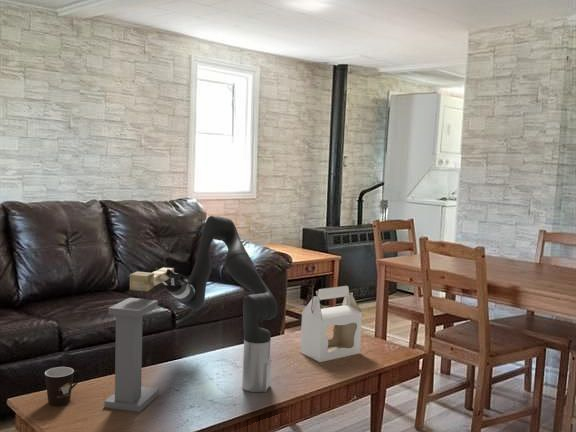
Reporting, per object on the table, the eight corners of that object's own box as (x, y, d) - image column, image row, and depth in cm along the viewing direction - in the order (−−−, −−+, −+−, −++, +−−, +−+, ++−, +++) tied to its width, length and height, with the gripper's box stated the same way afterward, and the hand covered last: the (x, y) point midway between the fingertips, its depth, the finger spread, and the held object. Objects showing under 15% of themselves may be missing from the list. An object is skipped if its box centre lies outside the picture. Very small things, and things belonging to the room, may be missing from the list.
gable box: (339, 344, 256) (343, 281, 253) (360, 353, 245) (364, 288, 242) (299, 352, 243) (302, 286, 240) (319, 362, 232) (322, 293, 229)
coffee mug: (45, 409, 180) (46, 378, 179) (43, 399, 187) (43, 368, 186) (85, 403, 185) (85, 373, 184) (81, 393, 193) (81, 364, 192)
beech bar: (161, 275, 212) (161, 261, 212) (176, 276, 211) (176, 263, 211) (129, 289, 189) (129, 274, 188) (146, 291, 188) (147, 276, 187)
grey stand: (158, 394, 195) (160, 300, 191) (139, 412, 181) (141, 311, 178) (125, 390, 197) (127, 297, 194) (104, 407, 183) (105, 307, 180)
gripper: (162, 275, 223) (145, 259, 208) (197, 278, 220) (182, 262, 205) (157, 294, 220) (140, 279, 205) (193, 297, 217) (178, 283, 202)
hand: (161, 271), depth 205 cm, fingers closed on beech bar, 4 cm apart
